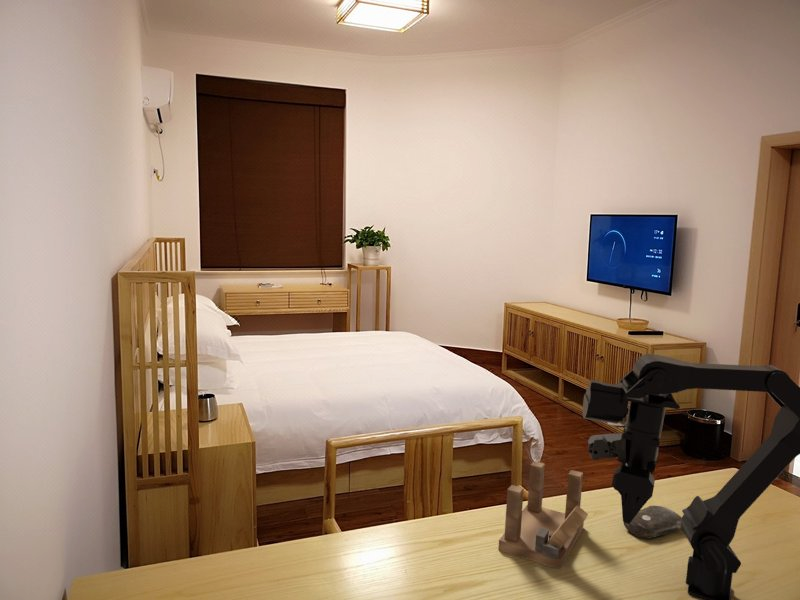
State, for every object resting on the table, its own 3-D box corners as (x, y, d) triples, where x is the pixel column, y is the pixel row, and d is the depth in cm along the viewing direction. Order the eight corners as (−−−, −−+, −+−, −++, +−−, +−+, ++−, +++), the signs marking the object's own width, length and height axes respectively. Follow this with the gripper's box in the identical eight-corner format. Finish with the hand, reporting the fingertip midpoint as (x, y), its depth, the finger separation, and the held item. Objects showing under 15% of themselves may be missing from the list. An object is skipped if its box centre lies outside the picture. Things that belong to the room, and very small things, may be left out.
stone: (634, 527, 119) (610, 505, 129) (636, 548, 120) (611, 524, 130) (697, 516, 121) (668, 495, 131) (698, 536, 122) (669, 514, 132)
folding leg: (558, 549, 112) (588, 513, 109) (553, 556, 110) (584, 520, 106) (547, 540, 113) (577, 504, 110) (543, 547, 111) (573, 510, 107)
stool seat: (583, 527, 124) (587, 472, 123) (559, 571, 108) (564, 508, 107) (527, 512, 130) (531, 459, 129) (497, 551, 114) (500, 491, 113)
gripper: (602, 403, 114) (589, 479, 117) (587, 431, 98) (573, 519, 100) (664, 417, 110) (649, 496, 112) (661, 449, 93) (643, 541, 95)
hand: (628, 511), depth 105 cm, fingers open, 9 cm apart
